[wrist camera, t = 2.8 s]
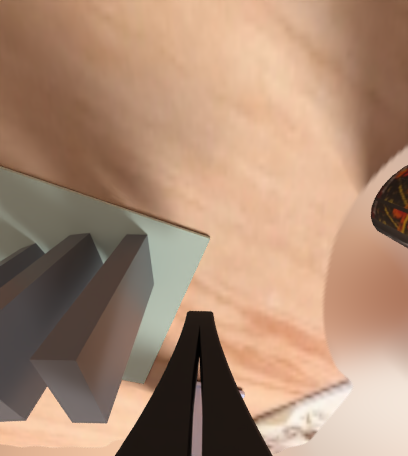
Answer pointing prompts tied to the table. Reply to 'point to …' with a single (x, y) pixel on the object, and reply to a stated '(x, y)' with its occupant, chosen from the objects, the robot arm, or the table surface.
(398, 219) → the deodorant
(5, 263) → the domino
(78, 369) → the domino
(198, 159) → the table surface
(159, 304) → the mat
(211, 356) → the robot arm
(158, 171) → the table surface
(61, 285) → the domino
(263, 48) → the table surface
